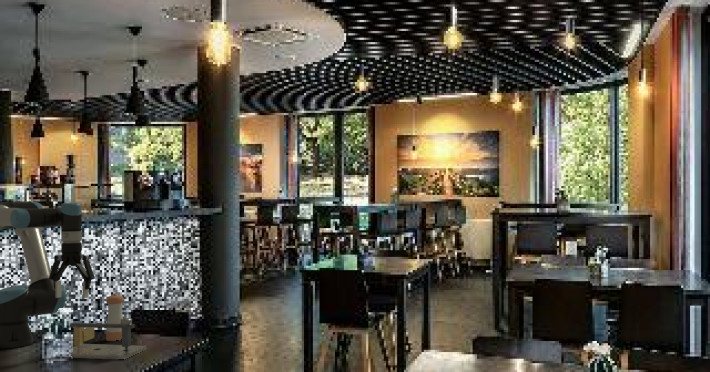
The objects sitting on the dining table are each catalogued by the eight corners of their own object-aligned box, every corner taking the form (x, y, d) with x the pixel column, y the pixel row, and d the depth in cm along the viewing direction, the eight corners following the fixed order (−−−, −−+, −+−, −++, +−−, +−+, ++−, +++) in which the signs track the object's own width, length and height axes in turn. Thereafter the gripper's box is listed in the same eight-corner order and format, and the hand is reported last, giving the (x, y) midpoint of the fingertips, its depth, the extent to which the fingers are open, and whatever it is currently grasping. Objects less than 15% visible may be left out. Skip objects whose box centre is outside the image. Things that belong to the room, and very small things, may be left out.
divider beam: (68, 348, 256) (68, 318, 257) (74, 345, 260) (74, 316, 261) (131, 350, 251) (130, 320, 252) (136, 348, 255) (136, 318, 255)
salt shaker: (120, 336, 286) (120, 291, 287) (127, 339, 281) (126, 293, 281) (103, 339, 282) (103, 293, 282) (109, 342, 276) (109, 295, 276)
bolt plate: (56, 357, 251) (56, 352, 251) (81, 347, 266) (81, 343, 266) (124, 359, 245) (124, 355, 245) (146, 349, 261) (146, 345, 261)
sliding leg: (73, 347, 257) (73, 327, 257) (87, 342, 266) (87, 323, 266) (80, 348, 256) (80, 327, 256) (94, 342, 265) (94, 323, 265)
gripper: (38, 242, 264) (39, 298, 264) (93, 242, 260) (93, 299, 260) (50, 241, 272) (51, 295, 271) (103, 241, 267) (104, 296, 267)
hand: (71, 297), depth 265 cm, fingers open, 11 cm apart
